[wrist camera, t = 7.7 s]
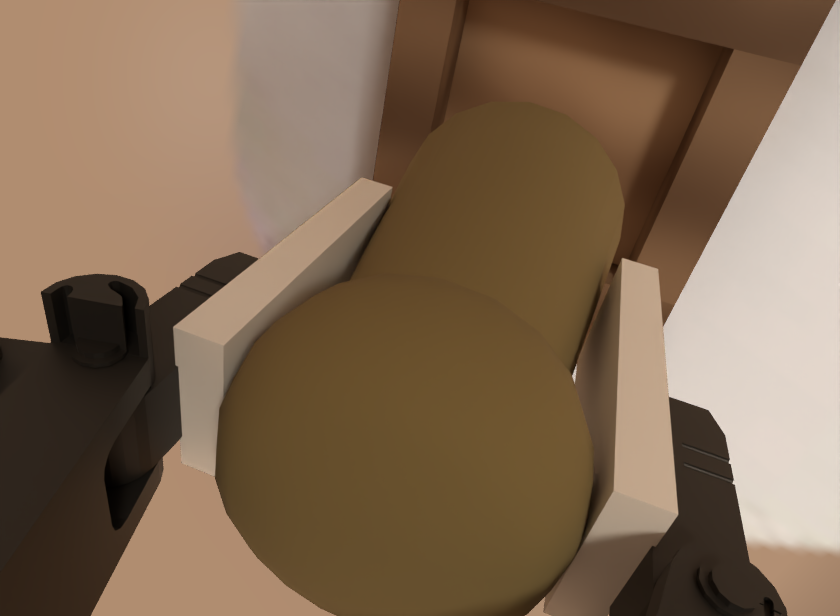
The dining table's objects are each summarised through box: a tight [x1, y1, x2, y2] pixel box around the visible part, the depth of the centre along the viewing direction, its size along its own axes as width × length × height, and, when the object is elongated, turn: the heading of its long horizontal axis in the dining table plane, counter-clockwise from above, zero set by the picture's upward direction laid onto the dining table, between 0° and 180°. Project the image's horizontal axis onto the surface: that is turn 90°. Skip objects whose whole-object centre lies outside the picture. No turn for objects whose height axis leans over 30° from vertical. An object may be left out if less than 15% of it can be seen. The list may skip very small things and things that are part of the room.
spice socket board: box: [373, 0, 836, 363], centre depth 22 cm, size 20×14×3 cm
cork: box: [215, 102, 625, 616], centre depth 11 cm, size 6×6×11 cm
